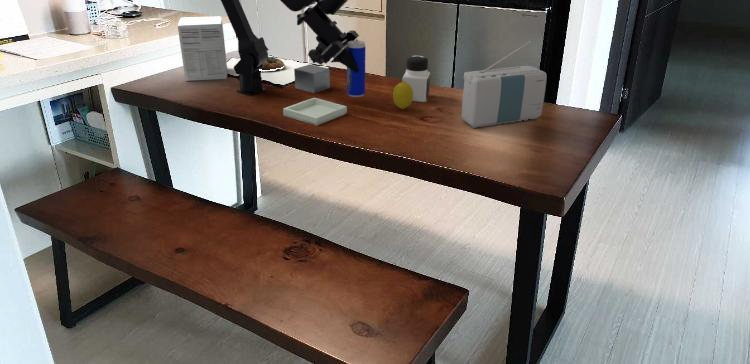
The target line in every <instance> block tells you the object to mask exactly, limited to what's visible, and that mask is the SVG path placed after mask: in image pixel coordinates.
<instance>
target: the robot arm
mask: <svg viewBox="0 0 750 364" xmlns="http://www.w3.org/2000/svg"><path fill="white" fill-rule="evenodd" d="M348 1H349V0H280V2H282V4H283V5H284V6H285V7H286V8H287V9H289V11H290V12H293V13H294V12H299V11H302V10H304V9H305V11H303V12H302V13H298V14H297V15H296V25H297V26H300V25H302V24H304V23H305V24H306V25H307V26H308V27H309V28H310V30H311V31H312V32H313V33H314V34H315V35H316V37H315V40H316V42H317V43H318V44H317V46H316V47H315V48H313V49H310V50H309V51H308V53H307V56H308V57H309V59H310V61H312V63H313V64H316V63H317V64H319V65H320V66H323V64H325V65H326V64H328V63H329V62H330V63H340V64H342V65H343V66H345V67H346V68H347V67H348V68H350V69H351V70H353V71H355V72H356V73H357V72H358V71H359V68H358V65H357V63H356V61H355V59H354V57H353V55H352V53H351V51H350V49H349V47H348V46H347V44H348V42H349V41H359V39H358V38H359V37H360V35H359V33H358V32H357V31H356V30H349V31H348V32H346V31H344V32H342V31H341V29H340V28H339V27H338V26H337V24H338V23H337V21H336V20H332V19H331V18H330V17H329V16H328V15H332V16H333V15H335V14H337V12H339V10H340V9H341V8H342V7H343V6H345V4H346V3H347V2H348ZM220 2H221V4H222V6H223V9H224V11H225V13H226V16H227V17H228V20H229V23H230V25H231V27H232V29H233V32H234V34H235V35H236V38H237V49H238V50H237V51H238V55H239V58H240V59H239V60H238V61H237V63H235V65H234V66H233V70H234V72H235V74H236V75H238V78H239V79H238V80H239V87H240V88H237V89H236V92H238V93H241V94H244V95H248V96H253V95H256V94H260V93H262V92H265V91H266V92H267V89H266V87H263V78H262V72H261V71H259V69H261V68H263V64H264V63H265V62H266V60H267V58H268V57H269V53H268V51H269V50H270V49H269V48H268V47H267V45H266V42H265V38H264V37H263V36H261V37H259V38H258V36H256V35H255V33H254V32H253V30H252V27H251V25H250V23H249V20H248V18H247V16H246V13H245V11H244V9H243V6H242V4H241V1H240V0H220ZM313 4H314V6H313V7H311V6H312V5H313ZM309 6H310V7H309ZM307 7H308V8H307ZM332 58H333V59H332ZM331 59H332V60H331Z"/></svg>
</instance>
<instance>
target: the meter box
mask: <svg viewBox="0 0 750 364" xmlns="http://www.w3.org/2000/svg"><path fill="white" fill-rule="evenodd" d="M293 72H294V89H298V90H299V91H300V90H301V91H305V92H309V93H312V94H316V93H319V92H321V91H325V90H328V89H330V88H331V75H330V74H331V73H330V68H329V67H324V66H321V65H320V66H319V65H316V64H315V65H314V64H311V63H309V64H306V65H303V66H299V67H296V68H294V71H293Z"/></svg>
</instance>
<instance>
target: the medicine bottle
mask: <svg viewBox="0 0 750 364" xmlns="http://www.w3.org/2000/svg"><path fill="white" fill-rule="evenodd" d="M428 62H429V60H428V58H427V57H426V56H422V55H411V56H409V57H407V59H406V70H405V73H404V74H403V76H402V82H403V81H404V82H405V83H407V84H409V85H410V86H411V88H412V91H413V100H412V102H418V103H427V101H428V99H429V97H430V96H429V95H430V86H431V85H430V84H431V72H430V71H428V68H429V67H428V66H429V65H428Z"/></svg>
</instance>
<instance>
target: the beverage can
mask: <svg viewBox="0 0 750 364" xmlns="http://www.w3.org/2000/svg"><path fill="white" fill-rule="evenodd" d="M347 46H348V47H349V49H350V51H351V53H352V55H353V57H354V59H355V61H356V63H357V65H358V68H359V71H358V72H357V73H356V72H355V71H353V70H351V69H350V68H348V67H347V66H346V93H347V95H348V96H349V97H352V98H360V97H361V98H362V97H363V96H365V93H366V43H365V41H363V40H358V41H355V40H354V41H349V42H348V44H347Z"/></svg>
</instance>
